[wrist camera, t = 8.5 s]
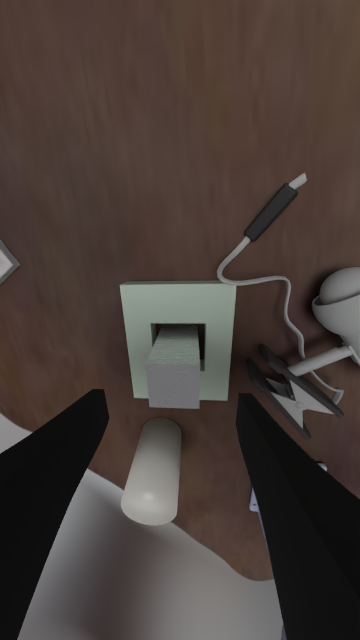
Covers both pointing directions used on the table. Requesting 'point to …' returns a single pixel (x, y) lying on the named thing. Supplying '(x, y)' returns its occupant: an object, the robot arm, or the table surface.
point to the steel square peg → (174, 367)
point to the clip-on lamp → (329, 309)
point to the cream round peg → (154, 474)
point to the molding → (6, 262)
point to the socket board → (181, 307)
